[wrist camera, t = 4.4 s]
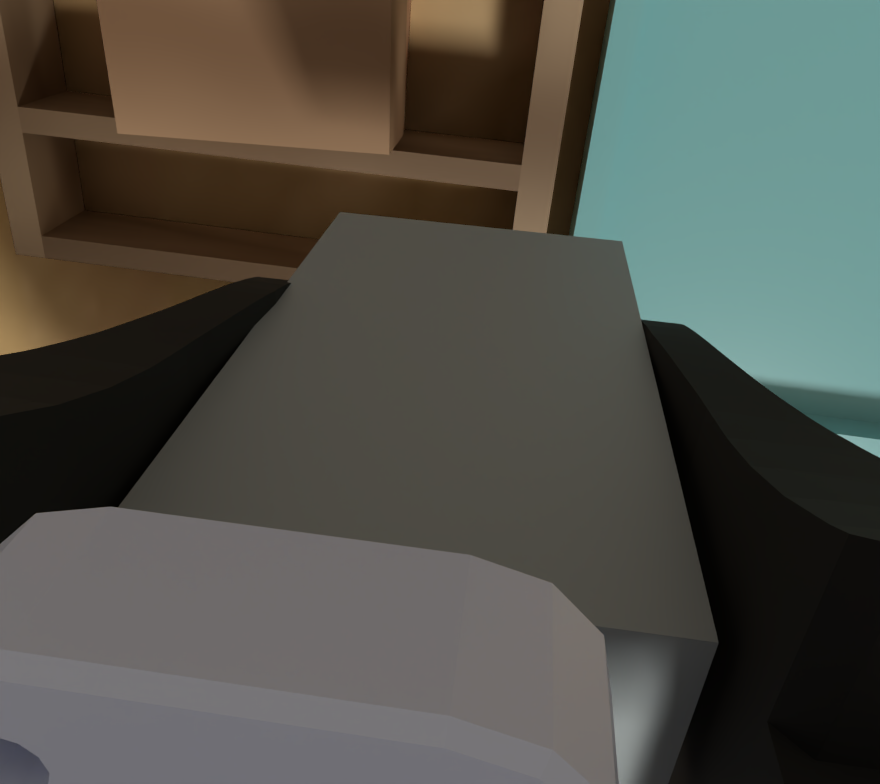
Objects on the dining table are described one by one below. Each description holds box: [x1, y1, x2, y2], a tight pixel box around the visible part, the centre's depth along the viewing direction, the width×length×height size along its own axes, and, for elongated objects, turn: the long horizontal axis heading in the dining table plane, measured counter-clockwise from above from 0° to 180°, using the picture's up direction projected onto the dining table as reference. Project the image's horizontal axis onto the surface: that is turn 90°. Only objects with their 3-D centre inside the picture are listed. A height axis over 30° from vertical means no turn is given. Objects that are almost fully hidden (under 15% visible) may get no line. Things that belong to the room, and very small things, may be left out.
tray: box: [569, 0, 880, 457], centre depth 19 cm, size 14×13×2 cm
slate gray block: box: [118, 212, 719, 784], centre depth 10 cm, size 2×5×9 cm, turn 87°
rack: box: [0, 0, 584, 282], centre depth 19 cm, size 8×14×2 cm, turn 85°
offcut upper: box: [96, 0, 407, 155], centre depth 17 cm, size 3×6×2 cm, turn 88°
